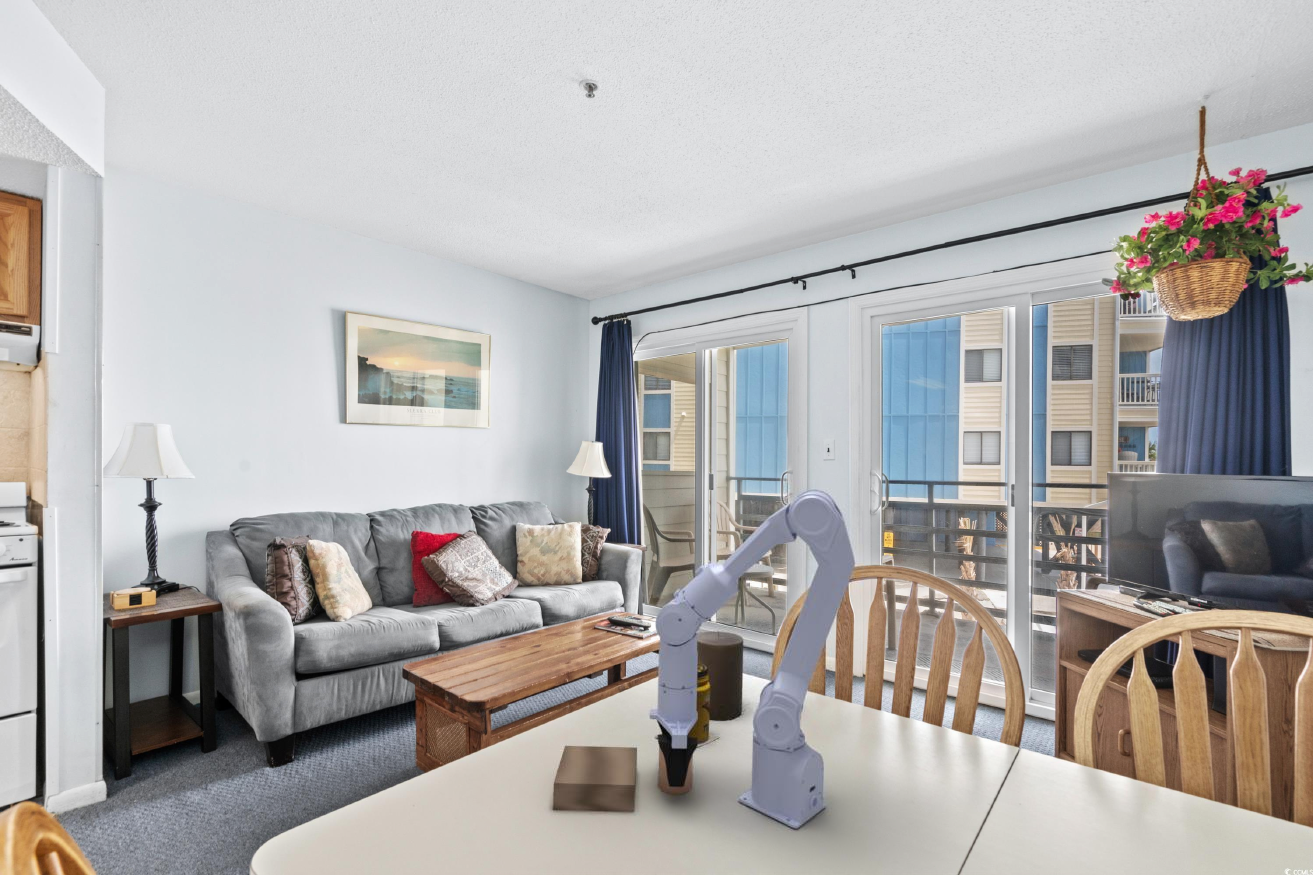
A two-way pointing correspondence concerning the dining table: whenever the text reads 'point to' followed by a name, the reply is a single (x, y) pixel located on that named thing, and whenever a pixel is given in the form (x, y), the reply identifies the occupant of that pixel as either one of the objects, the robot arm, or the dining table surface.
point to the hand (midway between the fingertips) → (675, 775)
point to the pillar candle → (722, 672)
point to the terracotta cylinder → (663, 778)
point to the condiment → (702, 709)
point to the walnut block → (596, 779)
